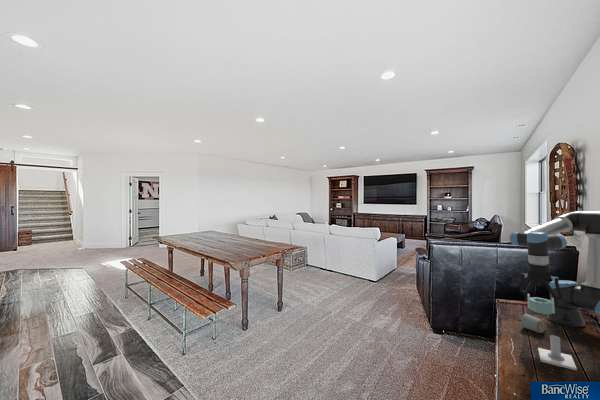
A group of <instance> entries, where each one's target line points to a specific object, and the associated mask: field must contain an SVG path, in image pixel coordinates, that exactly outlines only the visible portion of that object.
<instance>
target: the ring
mask: <svg viewBox="0 0 600 400" xmlns="http://www.w3.org/2000/svg"><path fill="white" fill-rule="evenodd" d="M529 300H530V309H529V310H530V311H532V312H535V313H539V314H544V315H547V314H553V311H552V301H550V299H547V298H542V297H538V296H535V297H534V296H533V297H532V296H530V299H529Z"/></svg>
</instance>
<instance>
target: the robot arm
mask: <svg viewBox="0 0 600 400" xmlns="http://www.w3.org/2000/svg"><path fill="white" fill-rule="evenodd" d="M568 232H584V235H585V236H586V237H587V238H588V243H587V244H588V245H587V256H586V257H587V259H586V271H585V272H586V273H585V281H584V282H582V283H580V285H579V284H578V282H577V281H573V280H565V279H564V280H563V279H562V280H561V279H559V277H558V276H552V275H551V274H550V265H549V264H550V258H549V257H550V256H549V252H550V251H559V250H562V249H564V248H566V247H567V244H568V242H567V241H568V240H566V238H565V237H564V236H562V235H560V233H568ZM509 241H510V243H511V245H514V246H519V247H527V262H528V264H527V265H528V267H527V268H528V272H527V273H525V272H521V274H520V277H521V281H520V286H519V293H522V294H523V295H524V301H525V302H527V309H529V310H530V300H529V299H530V298H531V295H530V293H529V292H530V291H531V289H532V287H533V285H534V284H535V283H540V284H544V285H545V287H546V289H547V290H548V291H549V297H550V298H549V300H550V301H552V311H553V314H546V315H547V319H548V320H549V321H551V322H553V323H556V324H559V325H563V326H567V327H573V328H580V327H581V328H583V327H585V326H586V322H585V319H584V318H583V316H582V312H581V311H580V309H583V310H587V311H590V312H593V313H595V314H600V210H595V211H592V210H591V211H588V210H585V211H584V210H578V211H571V212H567V213H564V214H560V215H557V216H555V217H554V218H553V219H551V221H548V222H545V223H542V224H540V225H538V226H537V225H536V226H535V227H532V228H530V229H528V230H524V231H523V232H520V231H514V232H512V233H510V235H509ZM528 277H529V278H530V279H531V280H530V282H529V283H528V284H527V287H526V289H525V290H524V287H525V282H526V281H525V280H526V278H528ZM550 280H552V281H550Z"/></svg>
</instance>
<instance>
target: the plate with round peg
mask: <svg viewBox="0 0 600 400" xmlns="http://www.w3.org/2000/svg"><path fill="white" fill-rule="evenodd" d="M549 342H550V350H549V349H546V348H542V347H537V351H538V355H539V358H540V359H539V360H540V362H542V363H545V364H549V365H553V366H557V367H562V368H564V369H568V370H573V371H576V372H578V371H577V370H578V368H577V366H576V364H575V361H574V358H573V357H572V354H568V353H567V354H566V353H563V352H561V338H560V337H559V336H556V335H553V334H552V335H551V334H550V335H549Z"/></svg>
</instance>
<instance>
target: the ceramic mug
mask: <svg viewBox="0 0 600 400" xmlns="http://www.w3.org/2000/svg"><path fill="white" fill-rule="evenodd" d="M520 326H521V327H522V328H524V329H527V330H529V331H533V332H535V333H538V334H543V333H544V332H545V330H546V323H545V321H544V320H542V319H540V318H538V317H536V316H534V315H531V314H528V313H524V314H523V315H522V316H521V318H520Z"/></svg>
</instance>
